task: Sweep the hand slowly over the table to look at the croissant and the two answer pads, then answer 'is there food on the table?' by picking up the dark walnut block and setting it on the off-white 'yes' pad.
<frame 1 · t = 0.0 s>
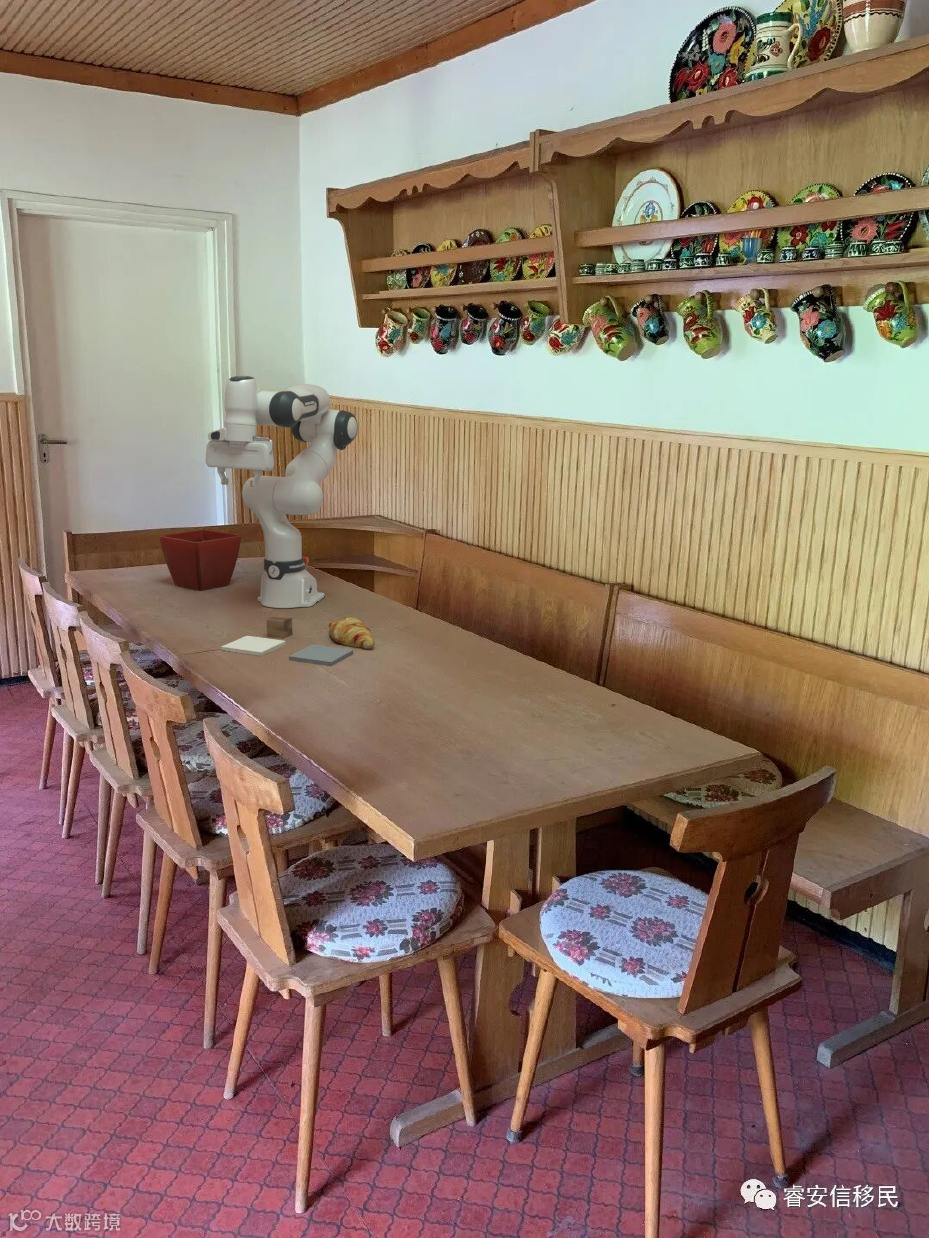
hand: (239, 485, 282), 39 cm above the table, tool pointing down, fingers open, 8 cm apart
croissant: (350, 643, 272), on the table
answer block: (279, 636, 276), on the table
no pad: (321, 656, 258), on the table
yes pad: (253, 647, 264), on the table
plant pot: (202, 586, 334), on the table
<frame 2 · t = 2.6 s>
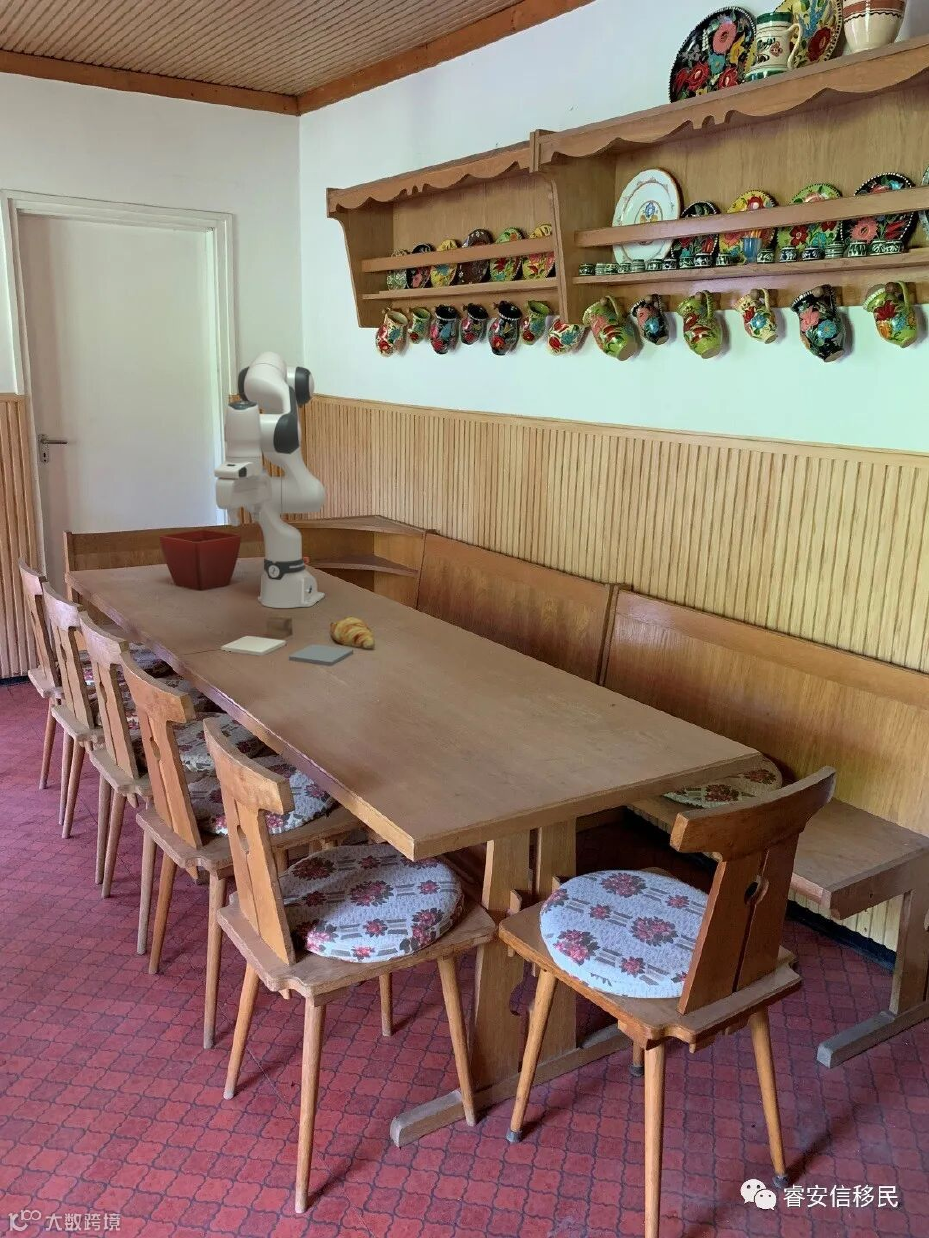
hand: (246, 523, 254), 33 cm above the table, tool pointing down, fingers open, 8 cm apart
nothing on the table moved.
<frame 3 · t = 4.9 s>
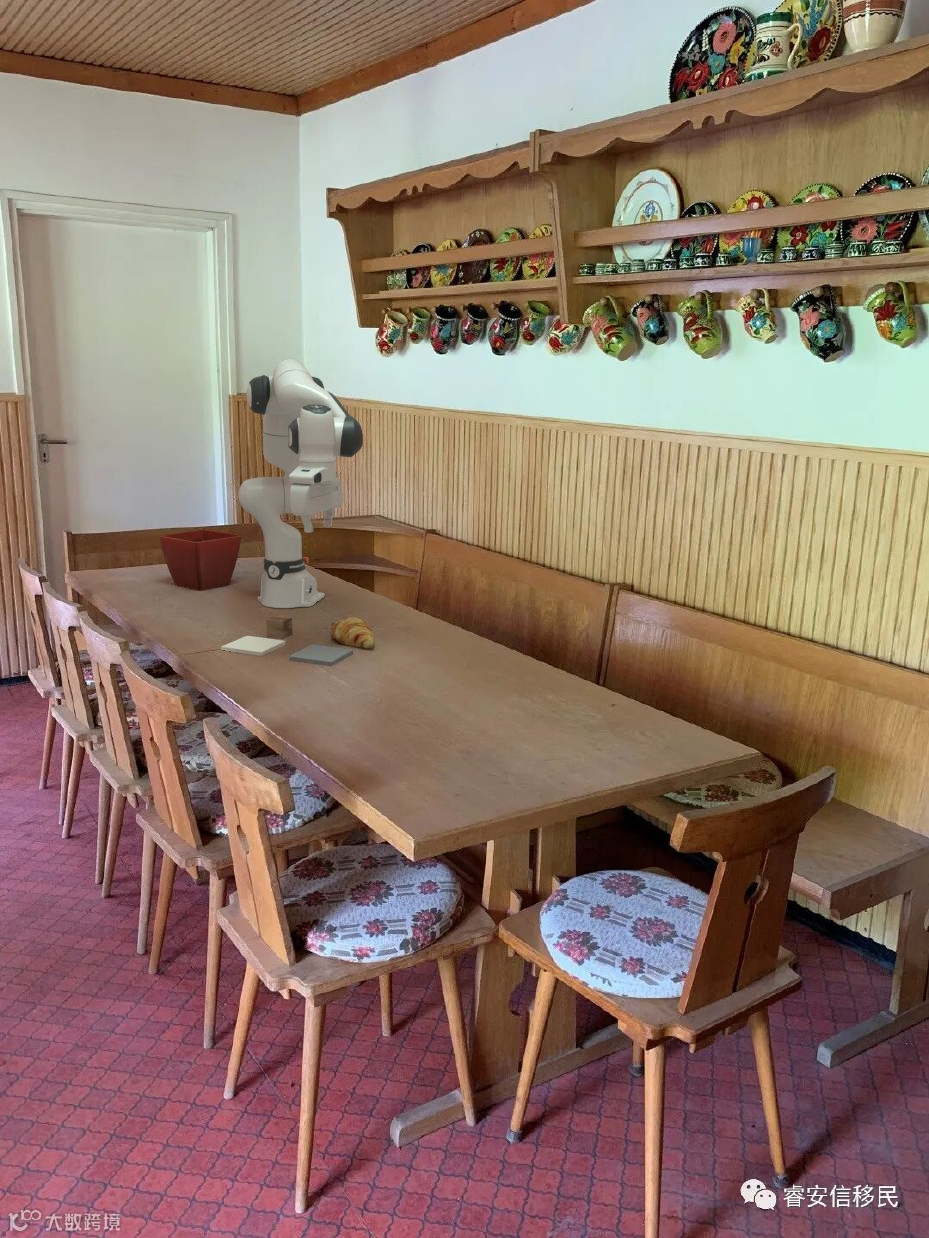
hand: (318, 529, 249), 33 cm above the table, tool pointing down, fingers open, 8 cm apart
nothing on the table moved.
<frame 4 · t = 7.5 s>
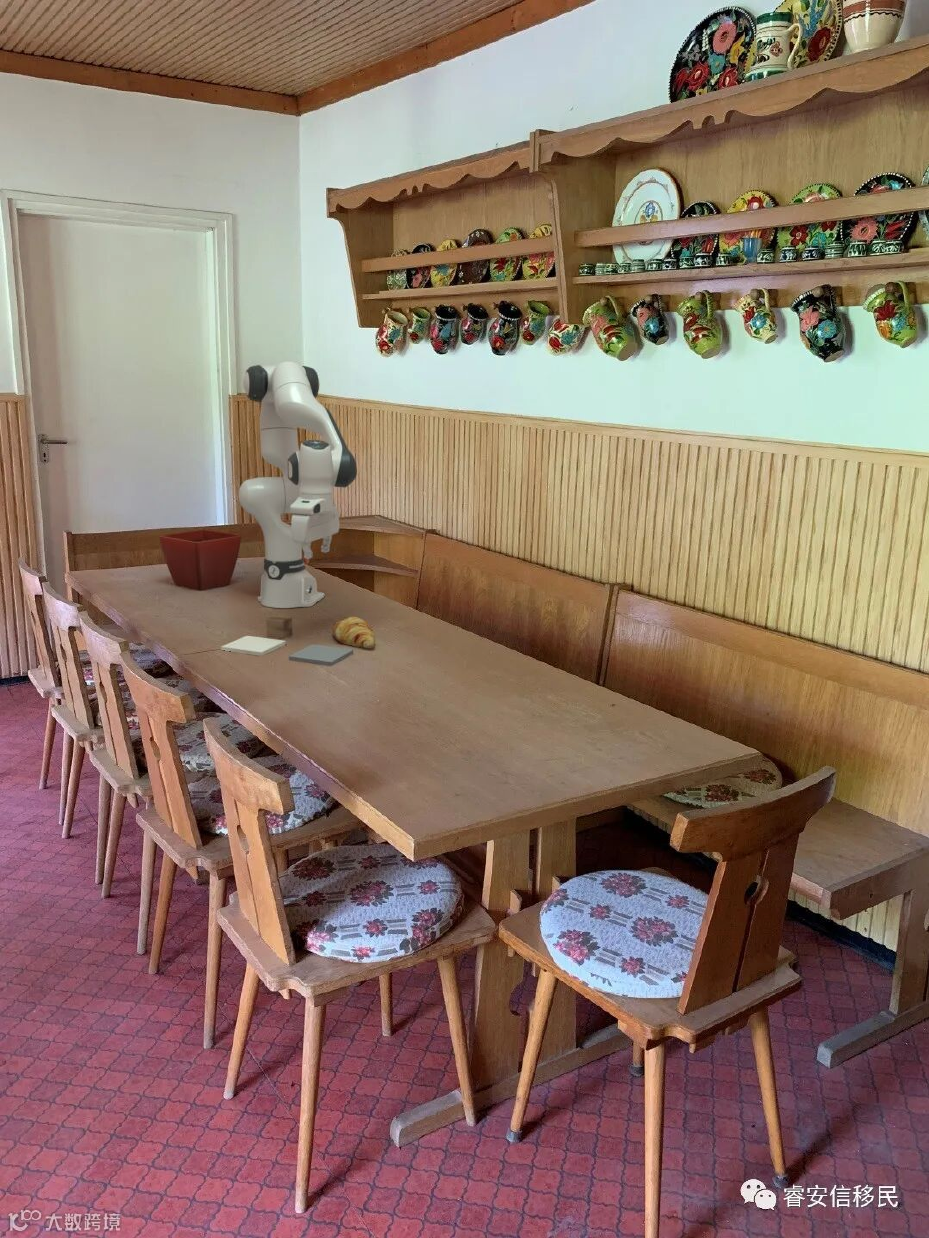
hand: (317, 555, 268), 23 cm above the table, tool pointing down, fingers open, 8 cm apart
nothing on the table moved.
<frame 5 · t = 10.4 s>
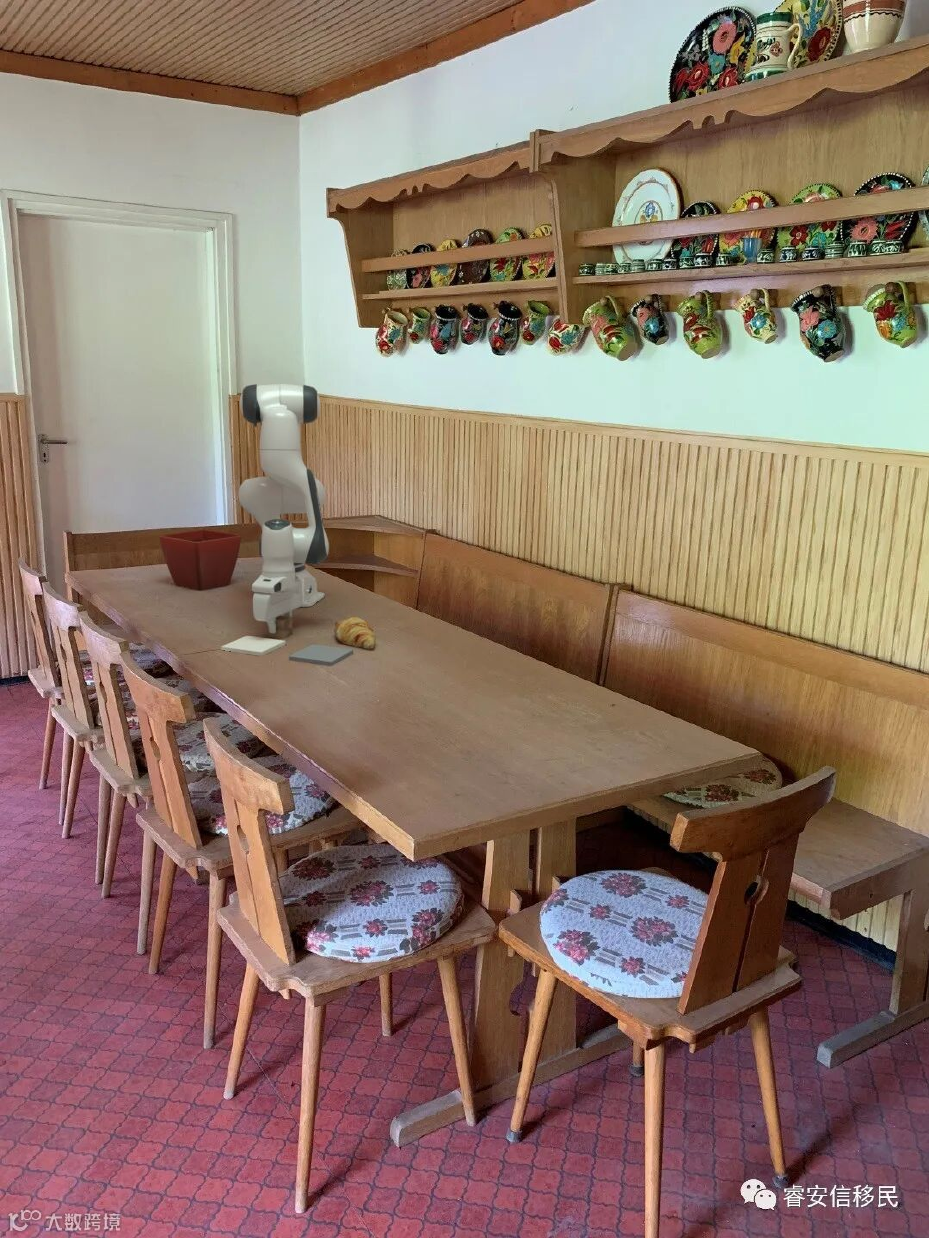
hand: (279, 629, 276), 2 cm above the table, tool pointing down, fingers closed on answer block, 5 cm apart
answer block: (279, 635, 276), on the table, touching gripper
everything else where it was.
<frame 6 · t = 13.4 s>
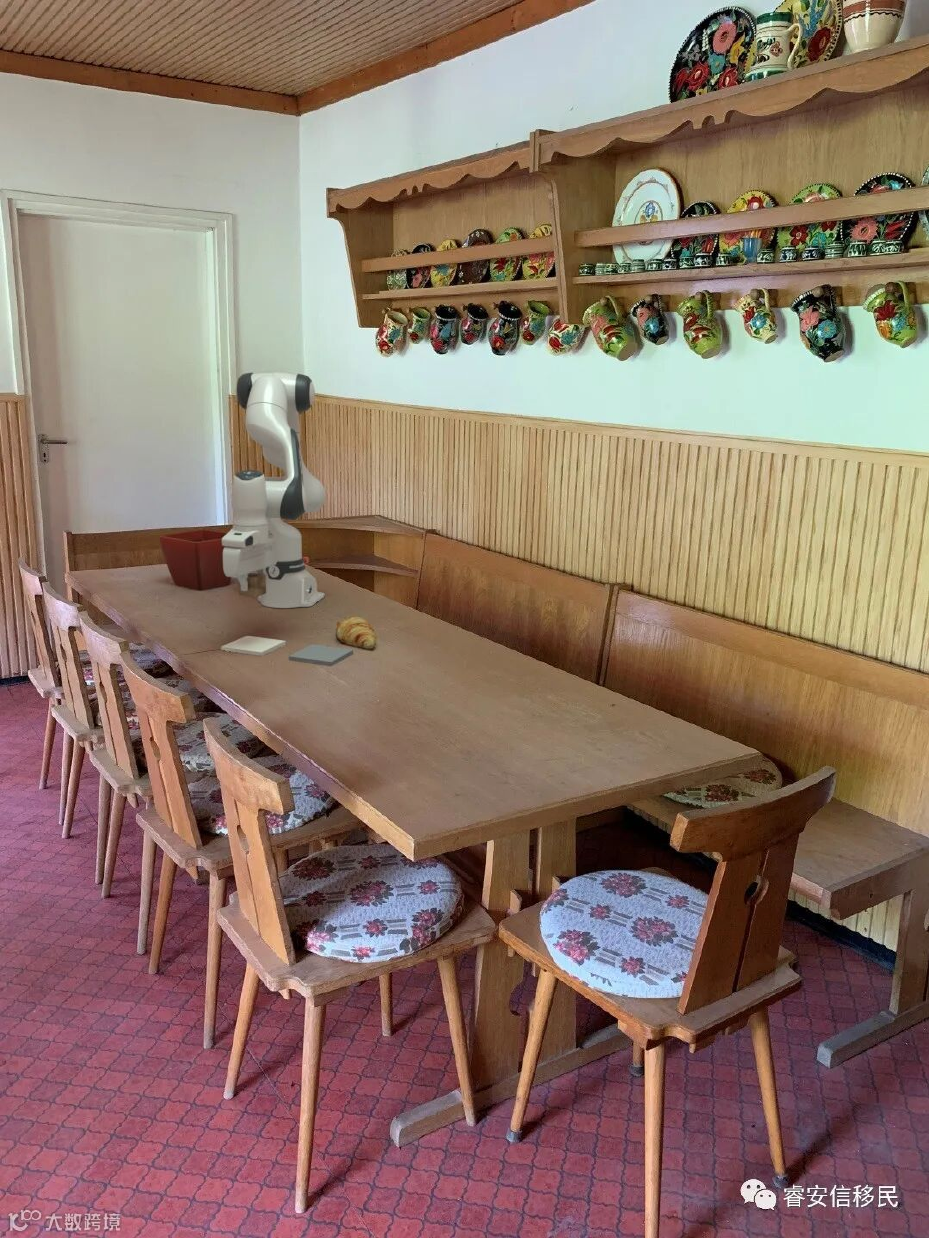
hand: (252, 588, 260), 16 cm above the table, tool pointing down, fingers closed on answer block, 5 cm apart
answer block: (252, 594, 261), point 14 cm above the table, touching gripper
when the fingers open (4 cm above the table, at t = 15.9 s): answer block stays where it is, resting on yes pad.
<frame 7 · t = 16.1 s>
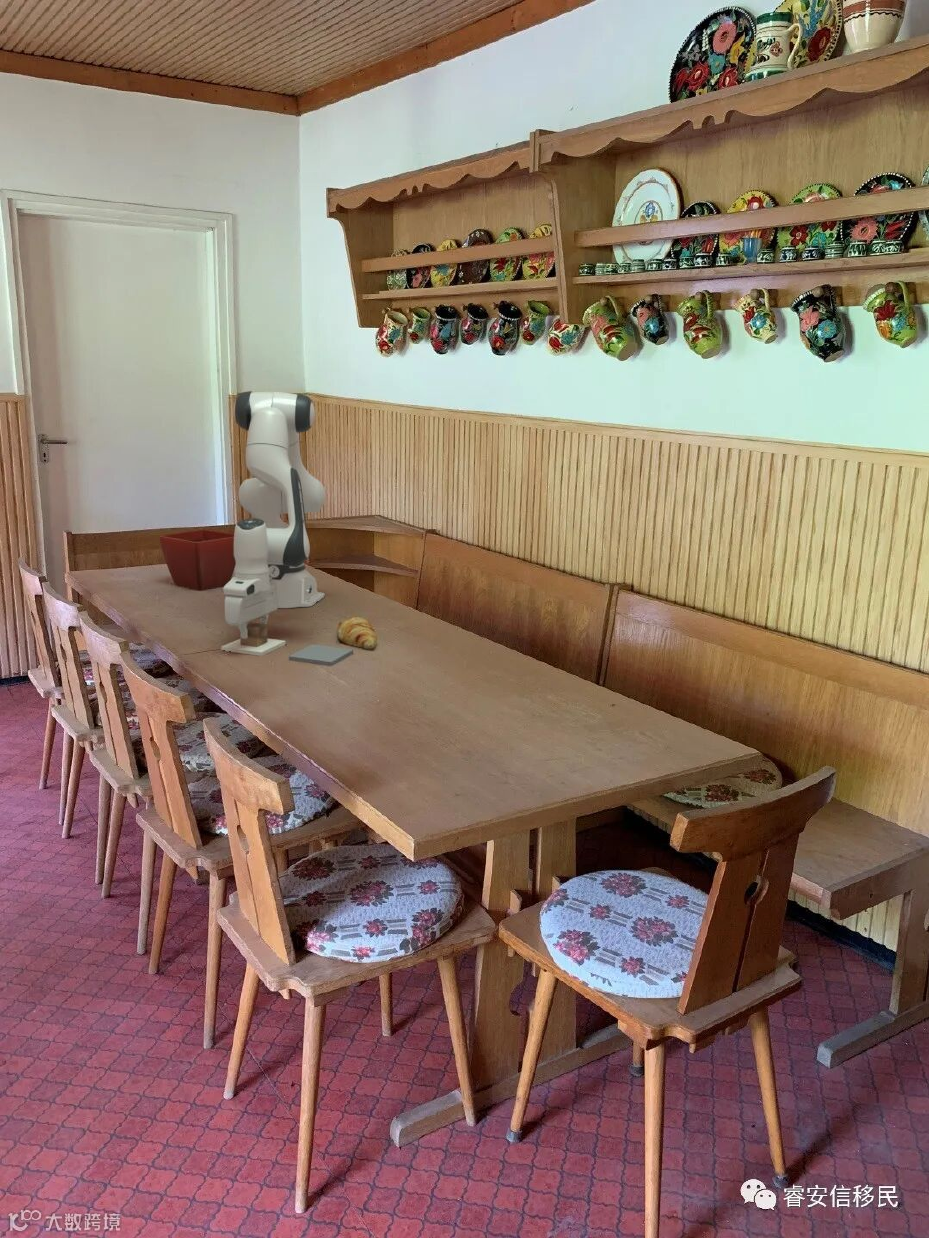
hand: (253, 634, 263), 4 cm above the table, tool pointing down, fingers open, 7 cm apart
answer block: (254, 643, 264), point 1 cm above the table, touching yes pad
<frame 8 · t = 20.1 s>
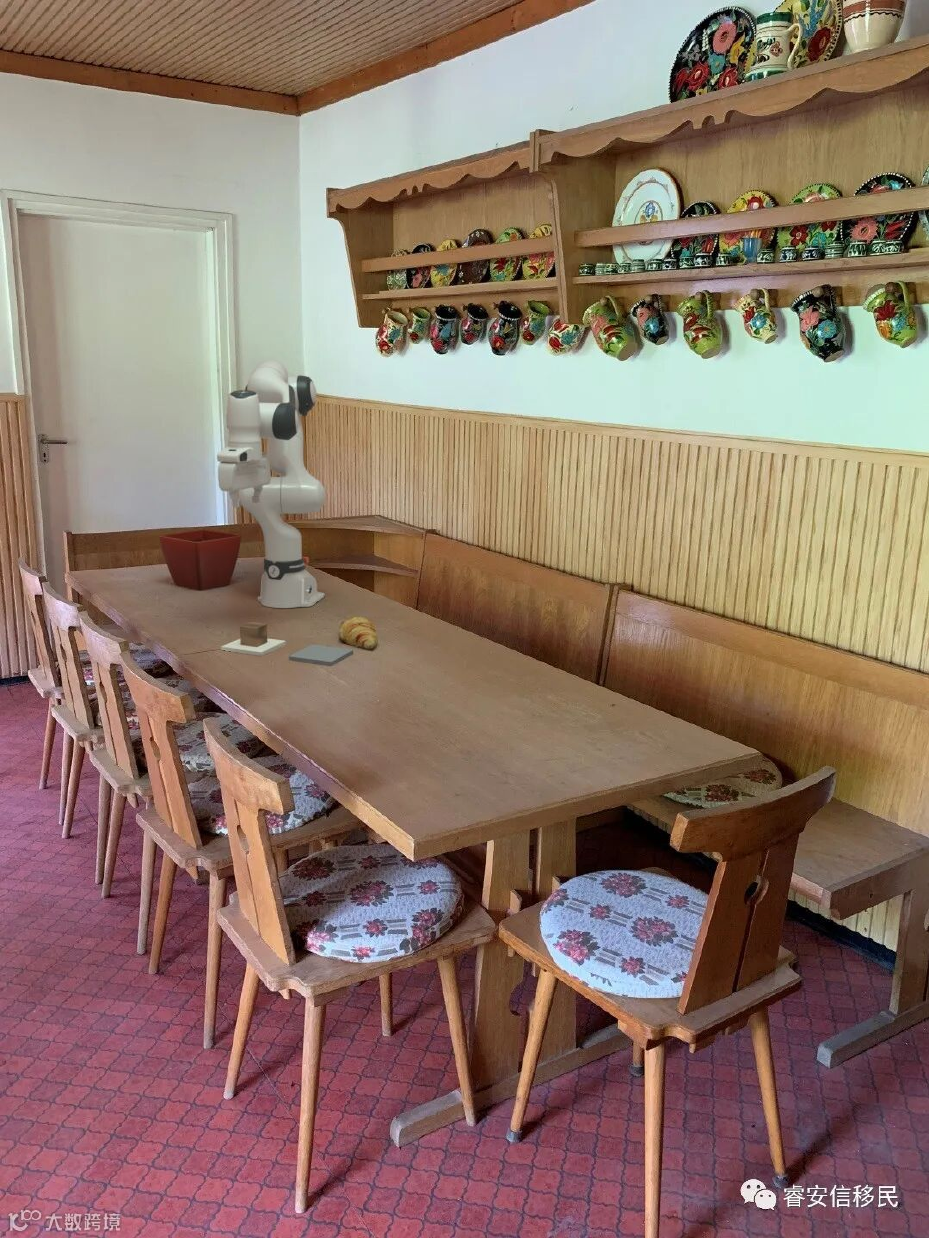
hand: (246, 504, 272), 35 cm above the table, tool pointing down, fingers open, 8 cm apart
at the end: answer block inside the target area on the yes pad (0.1 cm from its centre), point 1.0 cm above the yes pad's base; the gripper is holding nothing; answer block tilted 0° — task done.
